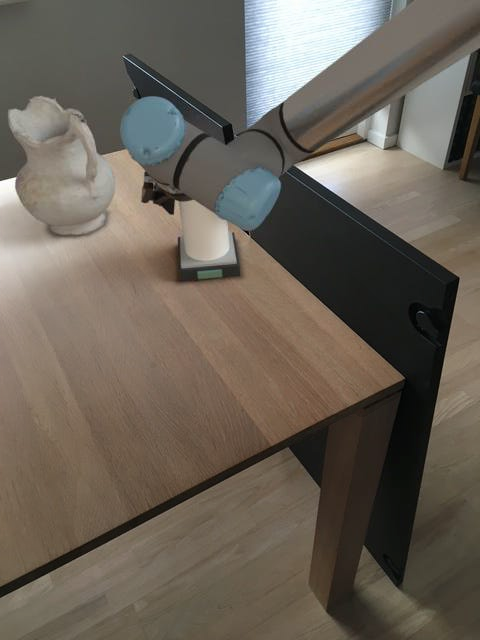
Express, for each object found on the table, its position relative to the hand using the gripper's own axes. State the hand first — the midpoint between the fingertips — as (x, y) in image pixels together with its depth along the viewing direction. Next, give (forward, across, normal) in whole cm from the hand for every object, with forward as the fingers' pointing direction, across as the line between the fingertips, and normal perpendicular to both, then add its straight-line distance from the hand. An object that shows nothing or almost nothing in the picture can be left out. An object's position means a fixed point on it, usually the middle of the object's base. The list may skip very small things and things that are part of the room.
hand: (206, 208), depth 97 cm
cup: (+3, 0, -7) cm, 7 cm away
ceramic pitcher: (+14, -29, -1) cm, 32 cm away
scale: (+5, 0, -9) cm, 10 cm away
